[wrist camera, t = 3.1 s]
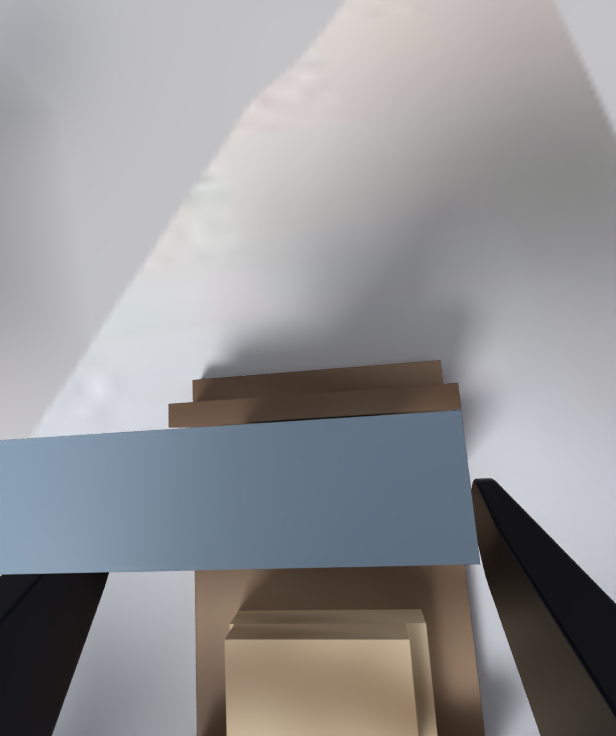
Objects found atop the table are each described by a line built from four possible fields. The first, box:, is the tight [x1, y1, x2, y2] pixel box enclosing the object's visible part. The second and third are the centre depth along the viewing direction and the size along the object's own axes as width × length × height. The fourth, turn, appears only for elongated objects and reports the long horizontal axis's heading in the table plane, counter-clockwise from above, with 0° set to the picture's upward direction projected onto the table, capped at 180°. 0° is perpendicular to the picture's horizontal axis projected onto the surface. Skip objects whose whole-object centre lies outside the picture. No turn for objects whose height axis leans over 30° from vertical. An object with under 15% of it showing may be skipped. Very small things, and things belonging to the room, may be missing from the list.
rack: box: [169, 360, 485, 736], centre depth 16 cm, size 17×12×3 cm
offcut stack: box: [225, 609, 437, 736], centre depth 15 cm, size 5×8×2 cm, turn 94°
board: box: [0, 410, 480, 574], centre depth 11 cm, size 2×6×14 cm, turn 94°
